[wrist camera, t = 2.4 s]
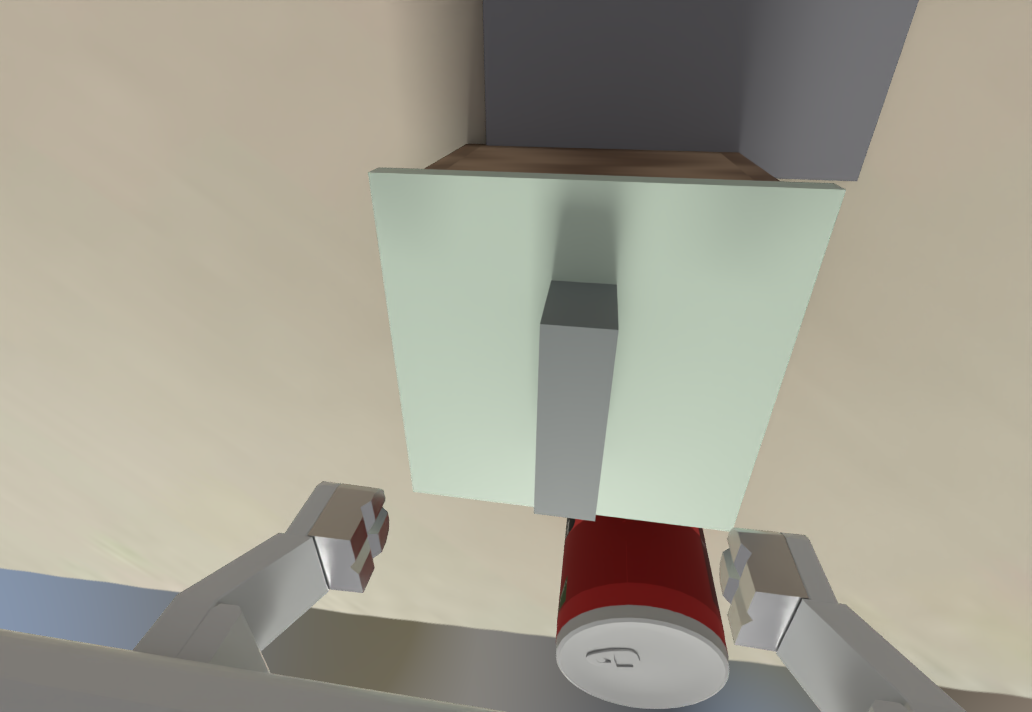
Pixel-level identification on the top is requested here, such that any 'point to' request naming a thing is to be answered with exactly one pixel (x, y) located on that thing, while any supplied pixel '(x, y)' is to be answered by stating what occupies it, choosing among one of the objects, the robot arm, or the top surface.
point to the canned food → (639, 614)
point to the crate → (603, 162)
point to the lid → (594, 333)
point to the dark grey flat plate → (696, 77)
